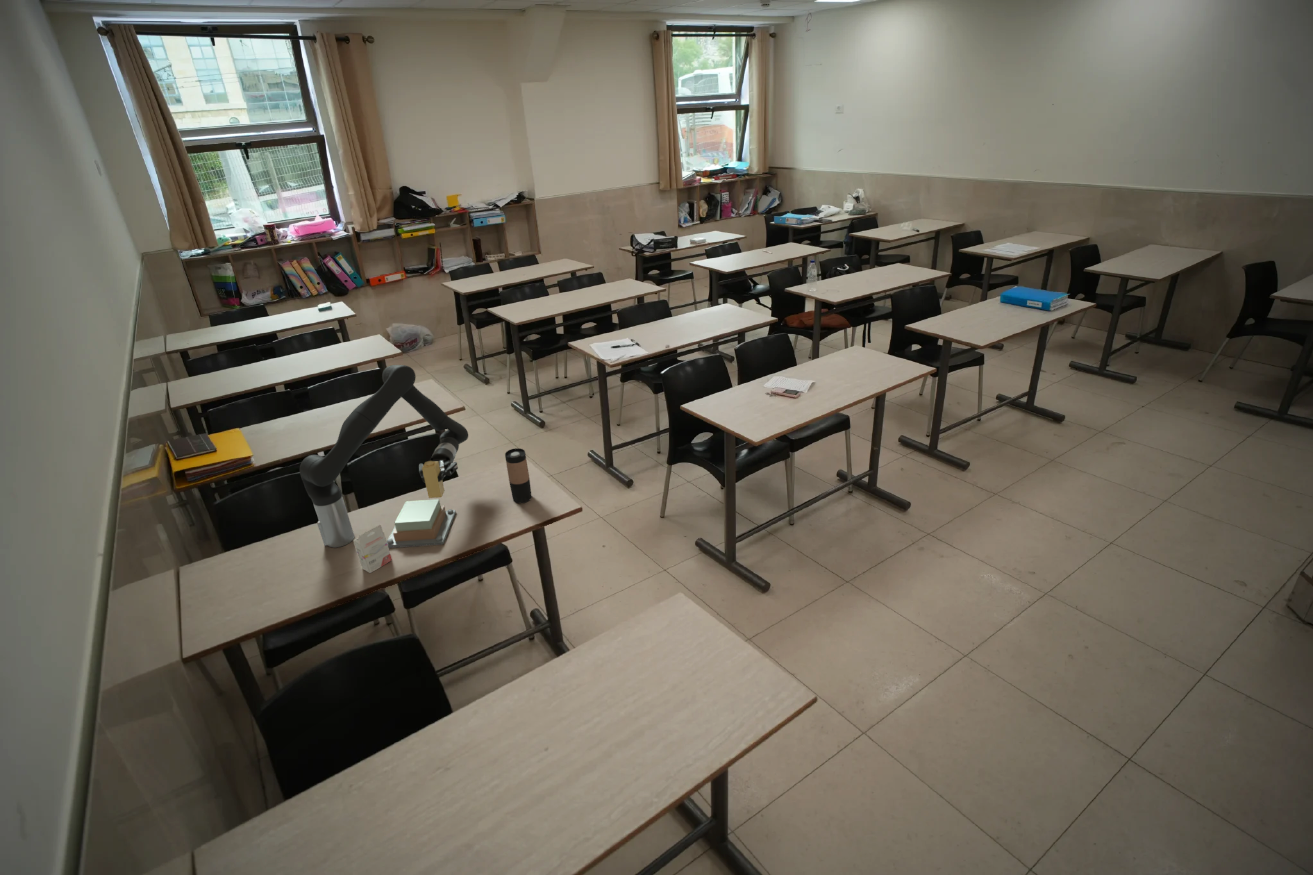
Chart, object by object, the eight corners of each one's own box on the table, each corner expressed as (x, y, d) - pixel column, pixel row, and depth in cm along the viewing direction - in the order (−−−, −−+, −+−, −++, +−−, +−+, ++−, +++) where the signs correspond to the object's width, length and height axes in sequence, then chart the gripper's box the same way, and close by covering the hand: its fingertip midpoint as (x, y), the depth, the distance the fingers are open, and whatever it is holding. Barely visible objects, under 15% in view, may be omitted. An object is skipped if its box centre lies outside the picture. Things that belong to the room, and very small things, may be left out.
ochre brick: (428, 498, 228) (421, 466, 222) (432, 491, 232) (425, 459, 226) (441, 497, 228) (434, 465, 222) (444, 490, 232) (437, 459, 226)
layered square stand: (385, 548, 228) (379, 528, 224) (402, 516, 245) (397, 497, 242) (443, 544, 228) (438, 524, 224) (455, 512, 246) (451, 494, 242)
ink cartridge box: (384, 555, 224) (373, 519, 217) (392, 560, 221) (382, 524, 215) (361, 568, 218) (349, 532, 211) (369, 573, 215) (358, 537, 209)
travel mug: (510, 496, 255) (502, 451, 246) (529, 491, 257) (522, 446, 248) (515, 505, 248) (507, 459, 239) (534, 500, 251) (527, 454, 242)
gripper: (422, 448, 238) (408, 471, 223) (461, 446, 239) (450, 469, 223) (426, 466, 242) (412, 490, 226) (465, 464, 242) (454, 488, 227)
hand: (431, 479), depth 225 cm, fingers closed on ochre brick, 4 cm apart
